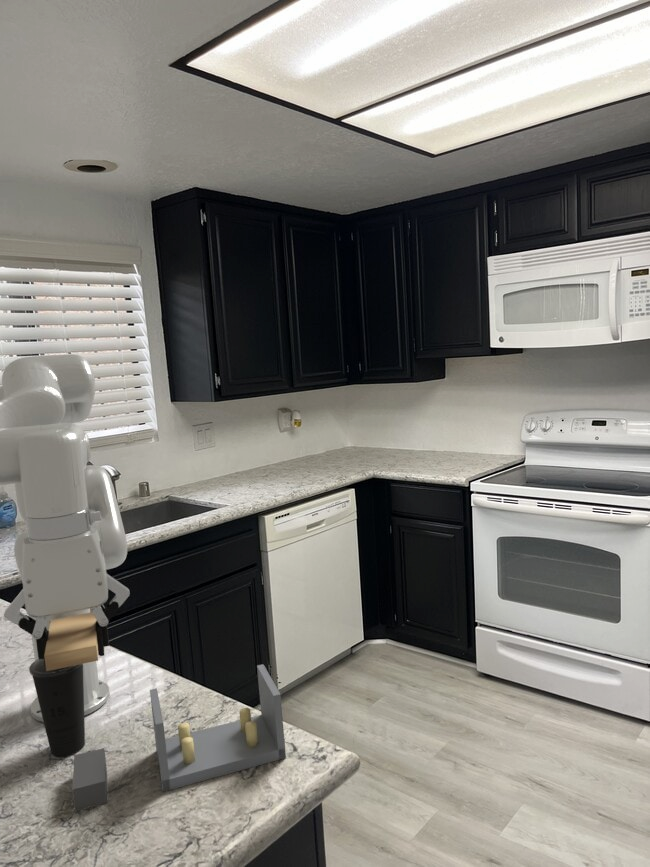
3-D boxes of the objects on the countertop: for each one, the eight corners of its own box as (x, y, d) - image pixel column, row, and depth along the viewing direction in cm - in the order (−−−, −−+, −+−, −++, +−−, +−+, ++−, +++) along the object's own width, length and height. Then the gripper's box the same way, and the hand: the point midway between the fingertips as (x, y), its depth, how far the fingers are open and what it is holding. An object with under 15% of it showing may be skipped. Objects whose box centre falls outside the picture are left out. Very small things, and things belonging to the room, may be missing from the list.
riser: (76, 775, 91) (74, 755, 91) (106, 767, 93) (104, 748, 92) (75, 811, 84) (72, 789, 83) (107, 802, 85) (105, 781, 85)
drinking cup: (40, 742, 100) (24, 617, 98) (92, 727, 103) (78, 607, 101) (40, 769, 93) (22, 636, 91) (96, 753, 96) (80, 623, 94)
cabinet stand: (156, 750, 96) (149, 689, 95) (268, 722, 101) (263, 664, 100) (162, 791, 86) (155, 724, 85) (285, 757, 92) (280, 694, 91)
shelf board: (52, 633, 91) (50, 619, 91) (97, 624, 93) (96, 611, 92) (46, 671, 80) (44, 655, 79) (98, 660, 81) (96, 645, 81)
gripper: (127, 509, 90) (140, 633, 93) (-11, 528, 85) (7, 659, 87) (129, 521, 83) (144, 655, 86) (-20, 543, 78) (-1, 685, 80)
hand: (75, 656), depth 86 cm, fingers closed on shelf board, 6 cm apart
